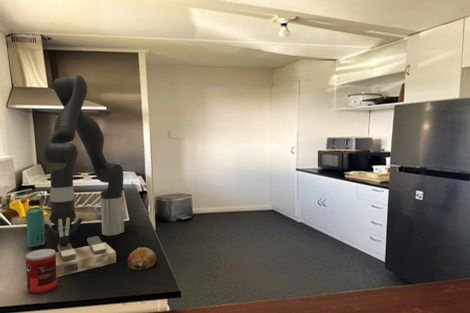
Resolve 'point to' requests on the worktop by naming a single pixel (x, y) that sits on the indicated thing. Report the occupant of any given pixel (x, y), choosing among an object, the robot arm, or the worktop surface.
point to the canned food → (41, 271)
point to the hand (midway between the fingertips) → (63, 245)
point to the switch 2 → (96, 245)
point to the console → (84, 260)
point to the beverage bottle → (35, 224)
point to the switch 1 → (66, 251)
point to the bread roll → (141, 259)
